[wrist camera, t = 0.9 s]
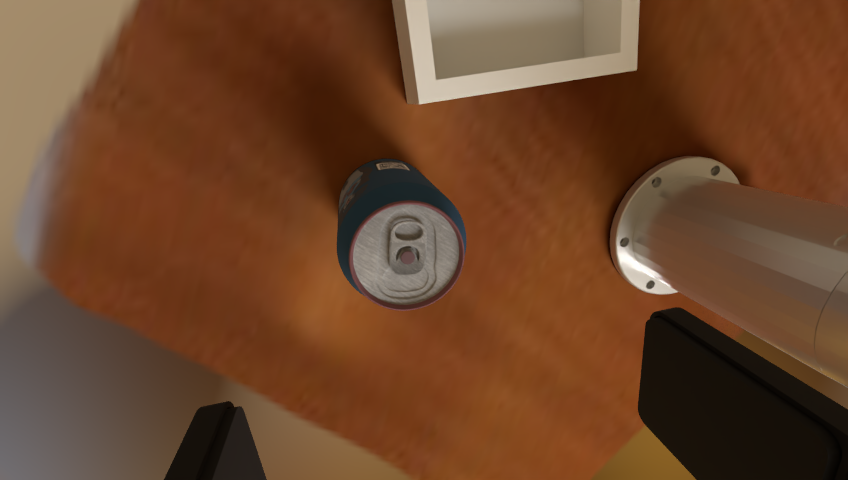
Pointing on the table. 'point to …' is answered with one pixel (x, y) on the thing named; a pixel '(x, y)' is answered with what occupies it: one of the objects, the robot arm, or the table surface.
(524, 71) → the walled box
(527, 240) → the table surface
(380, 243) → the soda can
